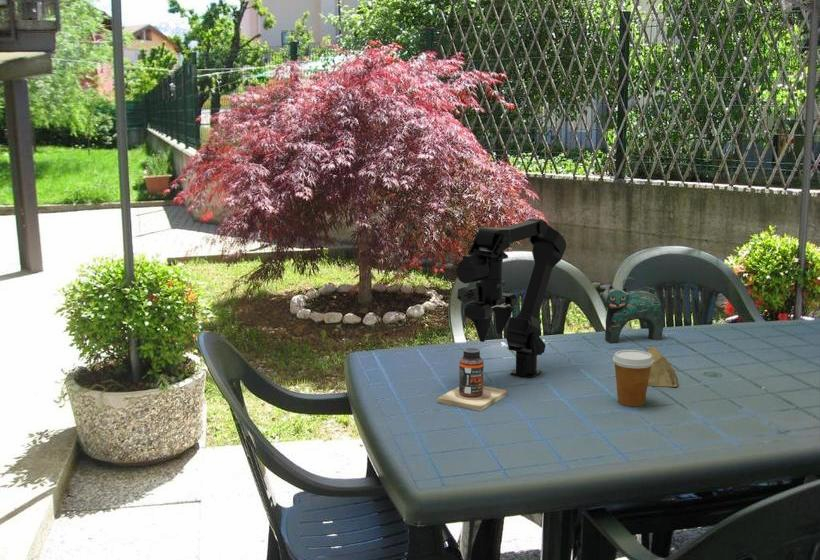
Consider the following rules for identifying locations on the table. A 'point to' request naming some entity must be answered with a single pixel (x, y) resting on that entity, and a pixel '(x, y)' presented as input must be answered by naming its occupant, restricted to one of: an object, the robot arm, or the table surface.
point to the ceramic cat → (632, 311)
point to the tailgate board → (473, 398)
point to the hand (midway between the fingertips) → (490, 337)
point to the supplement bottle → (471, 373)
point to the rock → (661, 371)
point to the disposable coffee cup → (632, 376)
